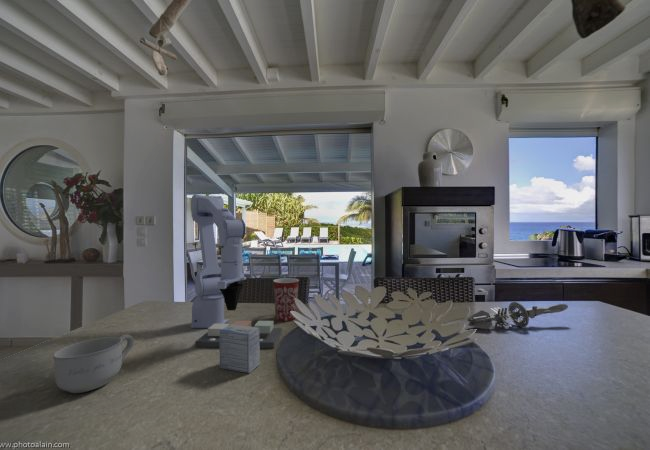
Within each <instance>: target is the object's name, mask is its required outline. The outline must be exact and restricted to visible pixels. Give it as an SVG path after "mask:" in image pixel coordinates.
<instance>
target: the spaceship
mask: <svg viewBox="0 0 650 450" xmlns="http://www.w3.org/2000/svg"><path fill="white" fill-rule="evenodd" d="M568 308H569V306H568V304H565V303H559V304H553V305H550V306H543V307H542V306H541V307H540V306H537V305H533V306H532V307H529V308H526V307H525V306H524V305H523V304H521V303H520V302H518V301H512V302H510V303H509V305H508V307H502V308H500V307H497V306H496V307H493V308H492V307H491V308H490V310H492V311H493V312H492V313H489V312H487V311H485V310H482V309H481V310H480V311H478V312H476V313H474V314H472V315H471V316H470V317H468V318H467V321H468V326H469V327H473V328H477V329H480V330H481V329H482V330H489V329H491V327H492V326H493V322H492V321H494V323H495V324H494V326H495V327H502V328H504V329H505V328H509V327H513V325H511V324H510V323H509V322H513V324H514V325H516V326H517V325H518V326H517V327H519V326H520V327H519V328H522V327H523V328H526V327H527V326H528V325H529V322H530V319H535V317H537V316H540V315H546V314H553V313H554V314H555V313H561V312H564V311H566V310H567V309H568ZM507 311H508V312H507ZM498 325H499V326H498Z"/></svg>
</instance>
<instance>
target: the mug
mask: <svg viewBox="0 0 650 450" xmlns="http://www.w3.org/2000/svg"><path fill="white" fill-rule="evenodd" d="M272 282H273V294H274V296H273V297H274V312H275V319H276V321H278V322H291V321H294V318H293V316H292V314H291V313H290V311H291V310H293V311H296V312H298V310H297V309H298V305H297V306H296V304H295V300H294V298H297V299H298V298H299V297H298V295H299V294H298V293H299V282H300V279H298V278H293V277H282V278H275V279H273V280H272Z"/></svg>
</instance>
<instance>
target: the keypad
mask: <svg viewBox="0 0 650 450" xmlns="http://www.w3.org/2000/svg"><path fill="white" fill-rule="evenodd" d="M282 330H283V328H282V327H274V328H273V329H272V331H271V333H259V345H260V349H275V347H276V345H277V344H278V342H279V339H280V338H281V335H282V334H283V331H282ZM194 344H195V348H215V349H216V348H219V349H220V336H208V331H207V332H205V334H203V335H202V336H201V337H199V338H198V339H197V340H196V341H195V343H194Z"/></svg>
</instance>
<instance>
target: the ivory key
mask: <svg viewBox="0 0 650 450" xmlns="http://www.w3.org/2000/svg"><path fill="white" fill-rule="evenodd" d="M227 326H230V323H225V324H213V325H212V326H211V327H209V328H207V332H208V336H220V330H222V329H223V328H225V327H227Z"/></svg>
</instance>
